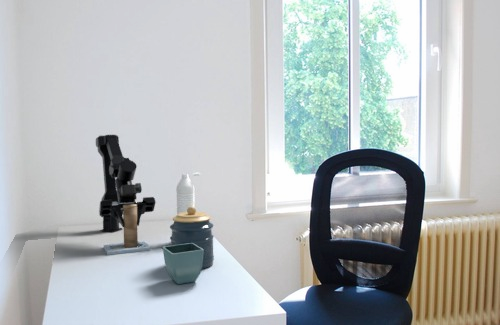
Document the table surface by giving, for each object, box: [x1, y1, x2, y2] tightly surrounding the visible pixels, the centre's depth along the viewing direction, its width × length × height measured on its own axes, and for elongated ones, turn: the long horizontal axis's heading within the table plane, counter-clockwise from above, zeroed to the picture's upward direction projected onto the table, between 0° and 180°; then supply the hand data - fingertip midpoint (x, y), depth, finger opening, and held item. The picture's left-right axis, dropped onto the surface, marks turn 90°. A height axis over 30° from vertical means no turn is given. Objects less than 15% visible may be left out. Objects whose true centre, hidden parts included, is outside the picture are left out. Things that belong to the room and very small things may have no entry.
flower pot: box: [162, 243, 204, 285], centre depth 125 cm, size 9×9×9 cm
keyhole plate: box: [103, 240, 152, 256], centre depth 161 cm, size 14×11×1 cm
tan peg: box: [122, 204, 139, 248], centre depth 161 cm, size 5×5×14 cm
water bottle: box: [176, 172, 201, 215], centre depth 171 cm, size 9×6×25 cm
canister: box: [169, 206, 215, 270], centre depth 141 cm, size 13×13×18 cm
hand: (131, 225), depth 160 cm, fingers closed on tan peg, 5 cm apart
